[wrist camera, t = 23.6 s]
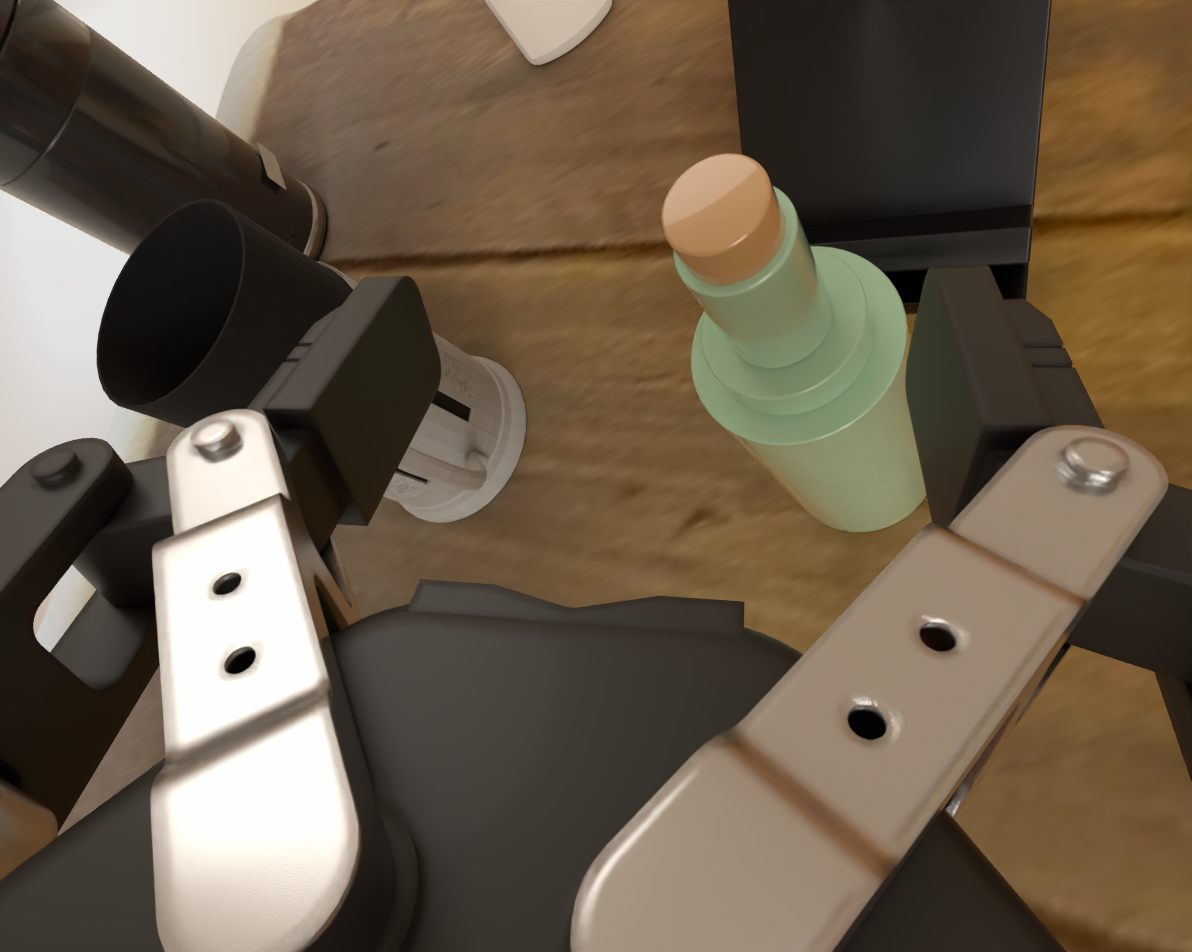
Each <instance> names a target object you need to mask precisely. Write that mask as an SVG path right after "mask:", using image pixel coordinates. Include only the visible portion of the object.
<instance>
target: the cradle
mask: <svg viewBox="0 0 1192 952" xmlns="http://www.w3.org/2000/svg"><path fill="white" fill-rule="evenodd" d="M1051 2H1052V0H728V7H729V18H730V29H731V39H732V50H733V61H734V72H735V83H736V94H737V105H738V116H739V127H740V137H741V148H742V155H745V156H748V157H750V158H752V159H754V160H756V161H757V162H758V163H760V164H761V165H762V166H763V168H764V169H765V170H766V172H767V173H768V176H769V178H770V181H771V183H772V185H773V186H774V187H776V188H778V189H780V190H781V191H782V192H784V193H785V194H786V195H787V196H788V197H789V199H790V200H791V202H792V203H793V205H794V207H795V210H796V212H797V214H798V217H799V220H800V222H801V225H802V227H803V230H804V232H805V235H806V237H807V240H808V242H809V245H810V246H822V247H832V248H837V249H841V250H845V251H848V252H851V253H853V254H856V255H859V256H860V257H862V258H864V259H866V260H868V261H870V262H871V263H872V264H874V265H875V266H876V267H878V268H879V269H880V270H881V271H882V272H883V273H884V274H885V275H886V276H887V277H888V278H889V279H890V281H891V282H892V284H893V285H894V287H895V288H896V289H897V292H898V294H899V296H900V298H901V300H902V303H903V306H904V310H905V313H906V314H909V313H917V312H918V307H919V303H920V298H921V293H922V289H923V284H924V280H925V277H926V274H927V272H928V270H929V268H930V267H932V266H967V265H987V266H989V267H990V269H991V271H992V274H993V276H994V279H995V281H996V283H997V286H998V288H999V290H1000V293H1001V295H1002V297H1003V300H1026V291H1027V279H1028V266H1029V261H1030V251H1031V239H1032V228H1033V209H1034V196H1035V185H1036V174H1037V162H1038V151H1039V139H1040V128H1041V117H1042V105H1043V94H1044V82H1045V71H1046V60H1047V48H1048V37H1049V25H1050V14H1051Z"/></svg>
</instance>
